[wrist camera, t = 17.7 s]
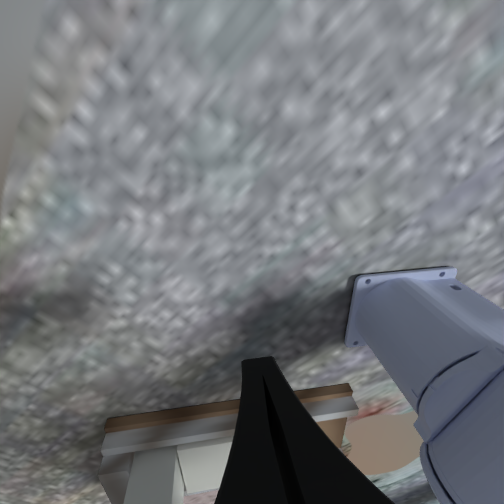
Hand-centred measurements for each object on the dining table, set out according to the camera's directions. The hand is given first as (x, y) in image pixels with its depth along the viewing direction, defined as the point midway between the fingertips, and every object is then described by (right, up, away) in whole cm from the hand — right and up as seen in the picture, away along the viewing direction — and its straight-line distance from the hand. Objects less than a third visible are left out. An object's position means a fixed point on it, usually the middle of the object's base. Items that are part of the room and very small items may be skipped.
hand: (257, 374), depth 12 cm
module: (-10, -16, +17) cm, 25 cm away
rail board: (-2, -15, +19) cm, 24 cm away
